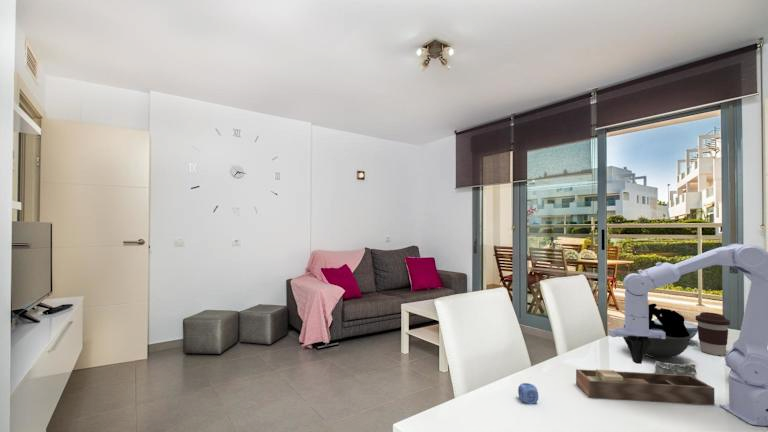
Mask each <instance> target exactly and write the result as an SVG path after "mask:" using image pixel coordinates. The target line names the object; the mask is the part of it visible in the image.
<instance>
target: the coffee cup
mask: <svg viewBox="0 0 768 432" xmlns="http://www.w3.org/2000/svg"><path fill="white" fill-rule="evenodd" d="M695 321H697V324H696V325H697V327H698V331H697V334H698V335H697V336H698V337H697V338H698V340H699V348H700V349H699V350H700V351H701V352H702V353H705V354H708V355H712V356H719V355H720V356H722V355H723V356H726V354H727V345H728V339H729V338H728V337H729V329H728V327H729V326H730V325H731V321H730V319H728V318H726V317H725V315H723V314H721V313H716V312H709V311H708V312H706V311H703V312H700V313H699V314H698V315H695Z"/></svg>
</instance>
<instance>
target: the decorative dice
mask: <svg viewBox="0 0 768 432" xmlns="http://www.w3.org/2000/svg"><path fill="white" fill-rule="evenodd" d="M517 391H518V394H517V395H518V397H519V400H520V401H521V402H522V403H524V404H527V405H534V404H536V403H537V402H538V400H539V391H538V388H537V387H536V386H535V385H534V384H532V383H529V382H524V383H523V382H522V383H521V384H519V386H518V388H517Z"/></svg>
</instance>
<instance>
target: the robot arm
mask: <svg viewBox="0 0 768 432" xmlns="http://www.w3.org/2000/svg"><path fill="white" fill-rule="evenodd" d="M712 266H726V267H733V268H734V269H737V270H738V271H740V273H742V274H743V275H744V276H745V277H746V278H747V279H748V280H749V281H750V286H749V291H748V295H747V300H746V304H745V305H746V306H745V308H744V313H743V319H742V322H741V327H740V330H739V335H738V338H737V340H735V341H734V342H733V343H732V347H731V348H730V350H728V352H726V354H725V355H724V356H725V357H724V359H725V363H726V365H727V367H729V368H730V371H729V373H728V403H729V404H725V403H724V404H722V403H720V404H719V407H721V408H722V409H724V410H725V411H727V412H729V413H731V414H732V415H734V416H736V417H738V418H739V419H741V420H743V421H745V422H746V423H748V424H750V425H752V426H763V427H764V426H765V427H768V251H767V250H766V249H764V248H762V247H761V246H759V245H756V244H742V243H730V244H728V245H727V246H720V247H717V248H713V249H710V250H707V251H705V252H703V253H700V254H697V255H695V256H692V257H690V258H687V259H684V260H681V261H679V262H677V263H674V264H673V263H670V262H666V261H665V262H661V261H657V262H656V263H655V266H652V267H649V268H646V269H637V272H638V273H637V272H636V273H635V272H632V273H629V274H627V275H626V276H625V277H624V278H623V280H622V285H623V287H624V289H625V291H624V325H625V328H624V327H618V328H608V335H609V336H610V337H611V338H617V337H619V338H623V340H624V342H625V343H626V345H627V347H628V350H629V353H630V355H631V360H632V363H635V364H640V365H642V363H643V361H644V356H645V355H646V354H645V352H646V350H647V349H648V347H649V346H650V345H651V340H649V339H648V338H661V339H666V333H665V332H663V331H661V330H649V305H650V304H649V299H648V298H649V296H648V294H649V293H650V291H651V290H655V289H659V288H662V287H665V286H668V285H670V284H673V283H676V282H679V280H680V278H681V276H682V275H686V274H688V273H692V272H695V271H696V272H697V271H698V270H702V269H703V270H704V269H706V268H709V267H712Z"/></svg>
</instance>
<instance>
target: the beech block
mask: <svg viewBox="0 0 768 432" xmlns="http://www.w3.org/2000/svg"><path fill="white" fill-rule="evenodd" d="M595 370H596V378H597V379H598V380H599V381H610V382H623V377H622V376H621V375H619V374H618V373H617V372H615V371H616V370H614V369H600V368H599V369H598V368H596V369H595Z"/></svg>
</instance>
